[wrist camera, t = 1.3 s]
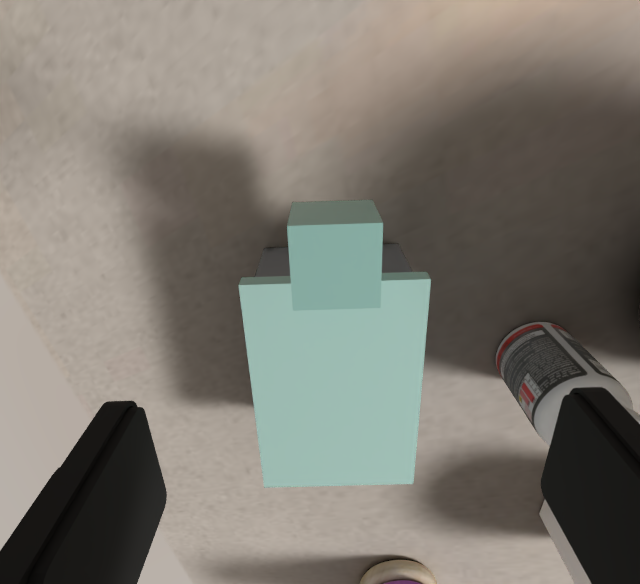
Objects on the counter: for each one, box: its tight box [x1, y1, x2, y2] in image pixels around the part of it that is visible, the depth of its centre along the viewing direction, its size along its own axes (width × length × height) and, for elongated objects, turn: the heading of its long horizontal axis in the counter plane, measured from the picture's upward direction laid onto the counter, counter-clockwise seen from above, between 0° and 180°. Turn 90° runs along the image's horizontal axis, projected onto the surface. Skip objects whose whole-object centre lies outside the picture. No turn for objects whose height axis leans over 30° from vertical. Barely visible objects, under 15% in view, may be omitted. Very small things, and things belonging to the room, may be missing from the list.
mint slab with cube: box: [238, 200, 431, 488], centre depth 24 cm, size 19×10×4 cm, turn 2°
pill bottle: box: [496, 322, 640, 445], centre depth 28 cm, size 6×6×10 cm
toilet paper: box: [539, 500, 591, 584], centre depth 34 cm, size 10×10×12 cm
